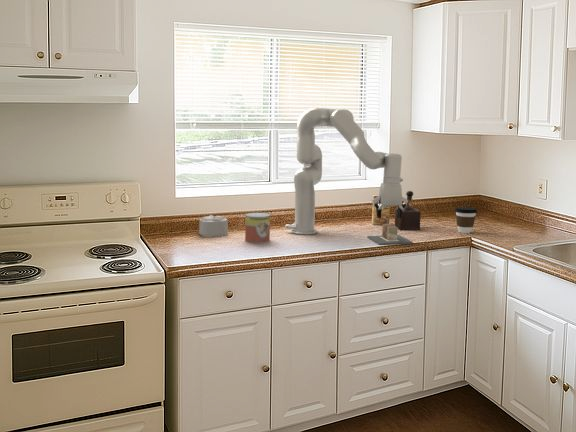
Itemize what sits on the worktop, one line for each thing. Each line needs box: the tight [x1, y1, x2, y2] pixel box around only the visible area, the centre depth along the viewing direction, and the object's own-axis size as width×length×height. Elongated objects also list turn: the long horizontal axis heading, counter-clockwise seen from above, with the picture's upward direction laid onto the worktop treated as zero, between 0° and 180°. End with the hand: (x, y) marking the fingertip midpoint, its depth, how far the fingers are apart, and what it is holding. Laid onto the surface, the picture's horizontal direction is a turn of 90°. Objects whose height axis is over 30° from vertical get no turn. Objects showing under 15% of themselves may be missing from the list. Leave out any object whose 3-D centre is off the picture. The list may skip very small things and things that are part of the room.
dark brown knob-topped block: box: [394, 190, 422, 231], centre depth 332 cm, size 16×11×18 cm
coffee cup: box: [454, 206, 478, 234], centre depth 322 cm, size 11×11×12 cm
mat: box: [366, 234, 414, 246], centre depth 300 cm, size 16×16×1 cm
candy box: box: [371, 194, 391, 226], centre depth 340 cm, size 9×4×15 cm, turn 87°
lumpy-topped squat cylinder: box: [198, 214, 229, 238], centre depth 309 cm, size 10×13×9 cm
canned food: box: [244, 212, 271, 244], centre depth 296 cm, size 11×11×12 cm
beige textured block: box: [381, 223, 398, 241], centre depth 300 cm, size 8×4×6 cm, turn 13°
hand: (388, 217), depth 299 cm, fingers open, 9 cm apart
